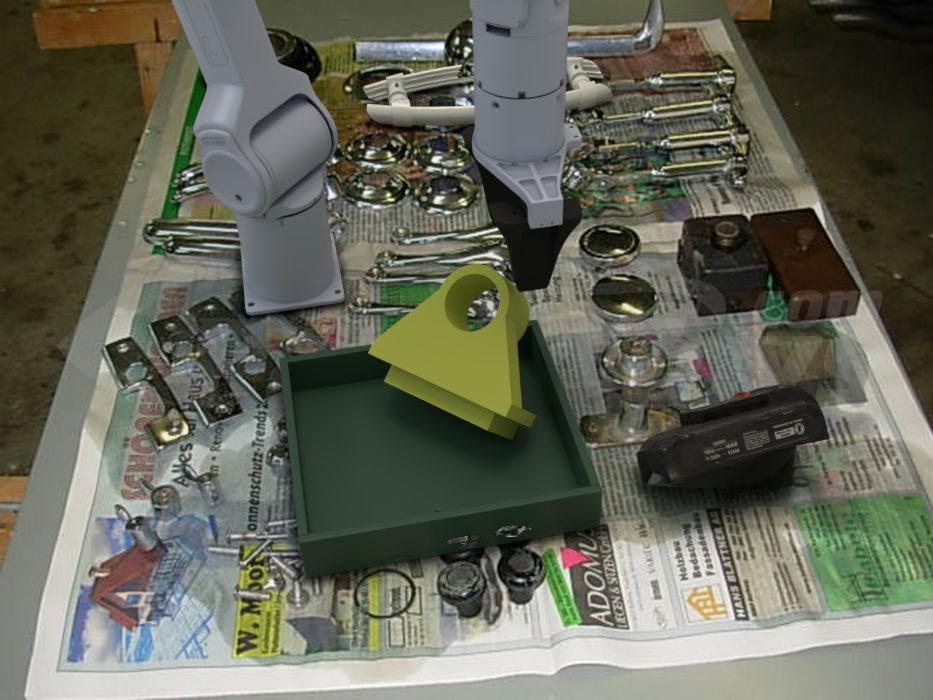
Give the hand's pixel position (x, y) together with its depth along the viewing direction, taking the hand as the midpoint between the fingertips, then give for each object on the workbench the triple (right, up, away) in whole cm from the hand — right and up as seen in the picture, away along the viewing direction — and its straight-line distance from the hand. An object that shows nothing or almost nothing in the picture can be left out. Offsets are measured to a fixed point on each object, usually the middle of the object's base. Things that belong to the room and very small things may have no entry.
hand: (518, 253), depth 77 cm
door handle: (-1, +18, +36) cm, 41 cm away
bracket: (-5, -11, -1) cm, 12 cm away
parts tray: (-6, -14, 0) cm, 15 cm away
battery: (+14, -15, -2) cm, 21 cm away
